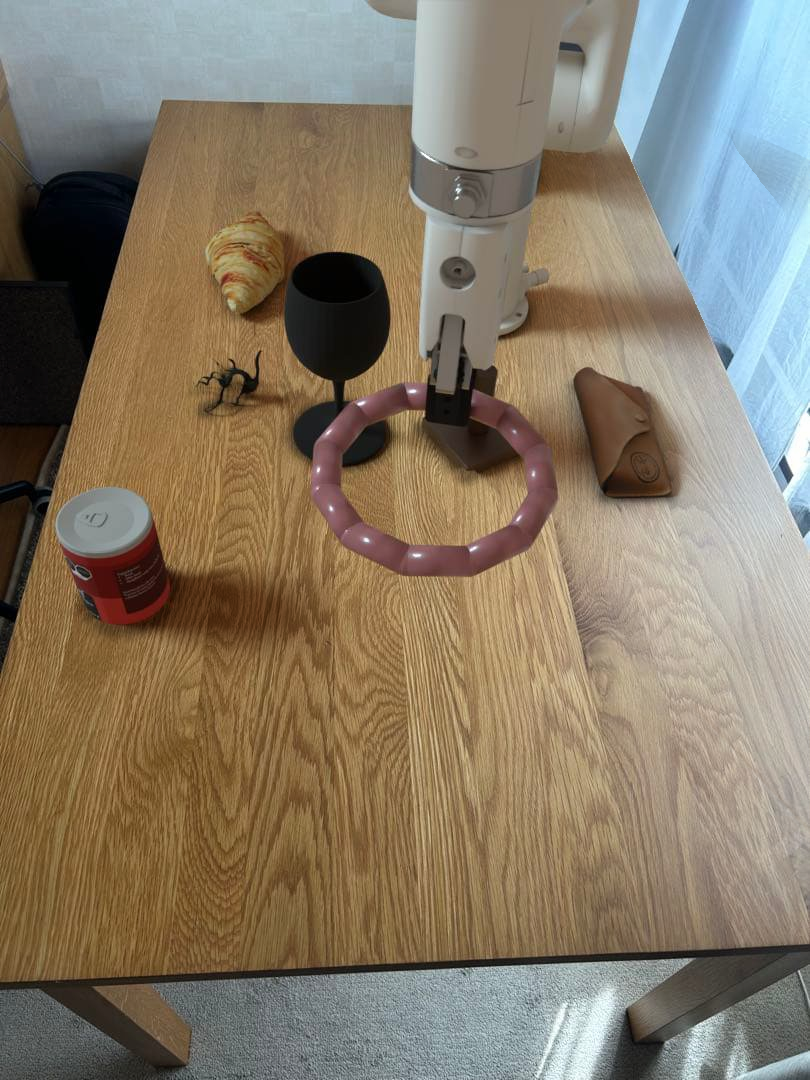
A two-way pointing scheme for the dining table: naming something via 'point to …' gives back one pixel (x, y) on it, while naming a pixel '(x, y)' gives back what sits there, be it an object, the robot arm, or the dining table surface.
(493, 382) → the stand
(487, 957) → the dining table surface
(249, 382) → the creature
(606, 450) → the sunglasses case
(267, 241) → the croissant
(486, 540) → the ring
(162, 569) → the canned food
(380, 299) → the wine glass
